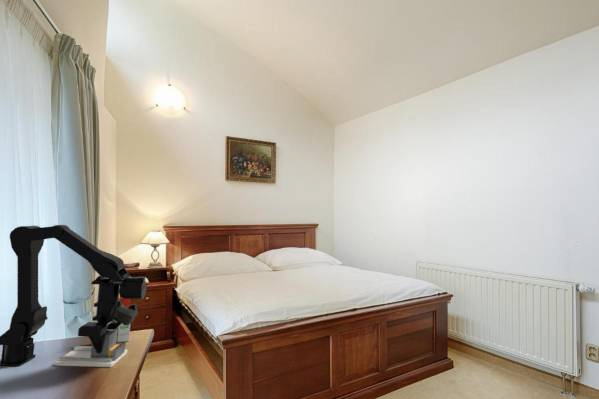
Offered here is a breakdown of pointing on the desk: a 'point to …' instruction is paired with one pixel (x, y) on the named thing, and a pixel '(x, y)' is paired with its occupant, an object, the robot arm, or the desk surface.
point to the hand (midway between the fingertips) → (103, 349)
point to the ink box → (123, 326)
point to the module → (106, 344)
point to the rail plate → (90, 357)
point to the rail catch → (111, 351)
